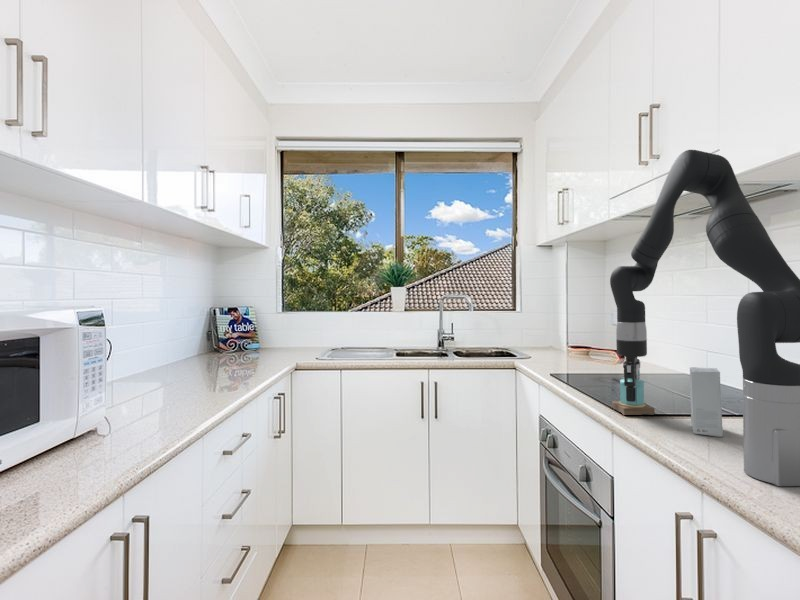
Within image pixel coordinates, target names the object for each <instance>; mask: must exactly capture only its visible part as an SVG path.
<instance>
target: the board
mask: <svg viewBox="0 0 800 600" xmlns="http://www.w3.org/2000/svg"><path fill="white" fill-rule="evenodd" d="M612 407H613V408H614V409H616V410H618V411H619V412H621V413H622V414H623V415H622V414H621V415H622V416H624V415H642V414H655V408H654V407H653V406H651V405H649V404H647V403H646V402H644V404H643V405H629V404H624V403H621V402H620V400H619V401H618V400H617V401H613V400H612V401H611V408H612ZM614 409H613V410H614ZM619 412H618V413H619ZM655 415H656V414H655Z"/></svg>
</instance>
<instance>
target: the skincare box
mask: <svg viewBox="0 0 800 600" xmlns="http://www.w3.org/2000/svg"><path fill="white" fill-rule="evenodd" d="M721 388H722V387H721V372H720V371H719V369H718V368H717V367H689V393H690V395H689V396H690V397H689V399H690V420H691V421H690V423H691V428H692V431H693V434H695V435H702V436H703V435H704V436H711V437H717V438H718V437H719V438H723V437H724V432H723V430H724V429H723V412H722V411H723V410H722V409H723V408H722V394H721V392H722V391H721Z"/></svg>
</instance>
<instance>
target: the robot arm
mask: <svg viewBox="0 0 800 600" xmlns="http://www.w3.org/2000/svg"><path fill="white" fill-rule="evenodd" d="M684 192H687V193H688V192H689V193H694V194H698V195H701V196H703V197H704V198H705V200H707V202H708V203H709V205H710V207H711V212H710V214H709V216H708V219H707V222H706V225H705V233H706V236H707V238H708V241H709V242H710V245H711V247H712V248H713V249H712V250H713V252H714V253H715V254H716V256H717V257H718V259H720V261H722V262H723V263H724V264H725V265H726V266H728V267H729V268H730V269H733V270H734V271H736V272H737V273H739V274H740V275H742V276H744V277H745V278H747V279H749V280H750V281H751V282H753V283H754V284H756V285H757V286H758V287H759V288H760V289H761V291H754V292H753V291H751V292H748V293H746V294H745V295H743V296H742V297H741V299H740V301H739V302H738V307H737V311H736V325H737V327H736V328H737V337H738V338H737V339H738V357H739V362H740V366H741V370H742V423H743V424H742V428H743V429H742V432H743V433H742V434H743V436H742V439H743V446H742V448H743V471H744V473H745V474H747V475H748V476H749V477H752V478H753V479H756V480H760V481H761V482H762V481H763V482H767V483H769V484H773V485H775V486H777V487H800V363H797V362H794V361H789V360H787V359H785V358H783V357H782V356H780V355H779V354H778V351H777V345H776V344H793V343H795V344H797V343H800V278H799V277H798V276H797V274H796V273H795V272H794V271H793V269H792V268H791V267H790V265H788V263H787V262H786V260H785V259H784V257H783V256H782V254H781V253H780V251H779V250H778V248H777V247H776V246H775V244H774V243H773V241H772V239H771V238H770V235H769V233H768V232H767V230H766V228H765V226H764V225H763V223H762V222H761V220H760V218H759V216H758V215H757V214H756V213H755V211H754V209H753V208H752V206H751V205H750V203H749V201H748V199H747V197H746V196H745V195H744V193H743V191H742V188H741V187H740V184H739V182H738V179H737V177H736V174H735V172H734V169H733V167H732V165H731V163H730V161H729V160H728V159H727V158H726V157H724V156H722V155H720V154H716V153H711V152H706V151H702V150H696V149H686V150H684V151H683V152H682V153H680V154H679V155H678V156H677V157H676V159H675V160H674V161H673V163H672V165H671V167H670V169H669V171H668V173H667V176H666V178H665V181H664V182H663V185H662V188H661V190H660V192H659V195H658V197H657V200H656V203H655V205H654V208H653V209H652V213H651V215H650V218H649V220H648V222H647V224H646V226H645V228H644V229H643V231H642V233H641V234H640V236H639V238H638V240H637V241H636V242H635V244H634V246H633V247H632V249H631V253H630V255H631V259H632V260H634V262H635V265H623V266H622V265H621V266H617V267H615V269H613V270H612V272H611V275H610V279H609V285H610V289H611V293H612V296H613V299H614V303H615V306H616V319H617V320H616V328H615V329H616V330H615V331H616V335H615V336H616V354H617V356H620V357H625V361H623V363H622V367H623V379H624V385H625V387H626V400H627V401H631V402H634V401H635V400H636V394H635V388H636V380H640V377H641V369H640V368H641V362H640V359H639V358H641V357H643V358H644V357H646V356H647V355H648V343H647V342H648V337H647V336H648V335H647V334H648V333H647V325H646V306H645V303H644V301H641V300H638V299H636V298H635V295H634V294H635V293H634V292H642V291H645V290H646V289H648V287H649V286H650V285H651V284H652V282H653V280H654V277H655V274H656V272H657V271H656V270H657V268H658V263H659V261H660V259H661V258H662V256H663V255H664V254H665V252H666V250H667V249H668V247H669V246H670V244H671V243H672V240H673V237H674V232H675V231H674V230H675V224H674V223H675V222H674V221H675V217H674V216H675V215H674V214H675V209H676V205H677V202H678V200H679V198H680V197H681V196H682V194H683V193H684ZM629 379H631V380H632V382H628V380H629Z"/></svg>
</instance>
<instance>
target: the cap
mask: <svg viewBox="0 0 800 600" xmlns="http://www.w3.org/2000/svg"><path fill="white" fill-rule="evenodd" d="M628 382H632V380H631V379H629V380H628ZM635 394H636V400H635V401H634V402H631V401H627V400H626V387H625V385H624V378H622V379H620V380H619V395H620V396H619V397H620V398H619V399H620V400H619V401H620V402H621V403H624V404H629V405H643V404H644V403H645V381H644V380H643V379H639V380H636V388H635Z"/></svg>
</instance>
